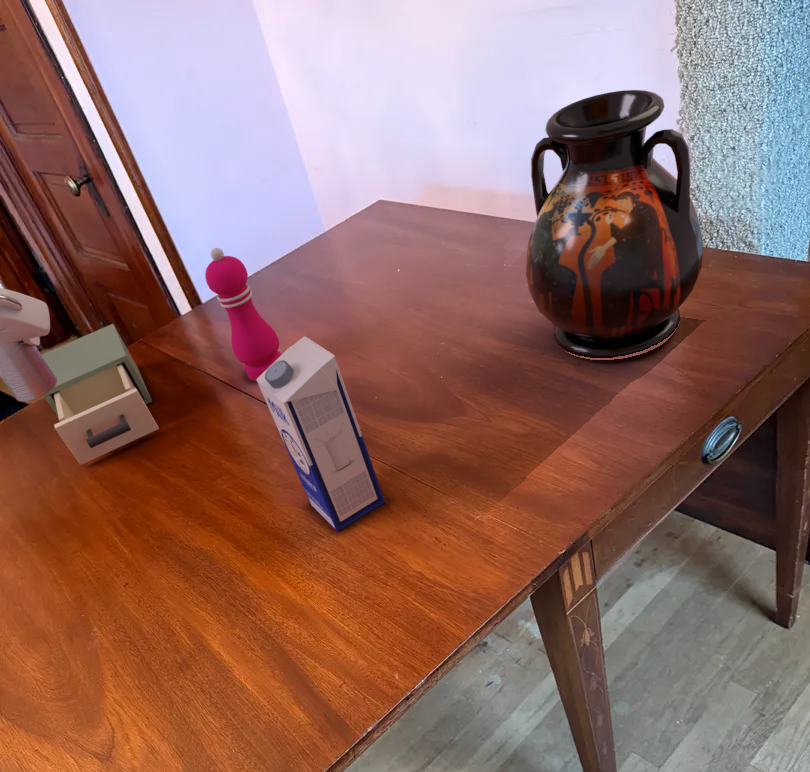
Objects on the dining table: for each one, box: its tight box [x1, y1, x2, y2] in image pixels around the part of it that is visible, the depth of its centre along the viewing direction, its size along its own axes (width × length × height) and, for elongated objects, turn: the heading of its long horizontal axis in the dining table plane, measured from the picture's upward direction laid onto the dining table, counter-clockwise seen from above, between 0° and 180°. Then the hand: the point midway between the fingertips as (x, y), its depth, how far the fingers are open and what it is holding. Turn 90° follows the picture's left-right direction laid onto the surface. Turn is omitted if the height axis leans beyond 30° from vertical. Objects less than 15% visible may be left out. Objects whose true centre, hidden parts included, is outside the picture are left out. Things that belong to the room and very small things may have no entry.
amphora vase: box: [525, 89, 704, 363], centre depth 92 cm, size 22×22×28 cm
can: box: [0, 341, 57, 402], centre depth 92 cm, size 6×6×12 cm
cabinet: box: [41, 323, 153, 419], centre depth 121 cm, size 15×14×9 cm
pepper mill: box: [204, 247, 282, 382], centre depth 112 cm, size 7×7×20 cm
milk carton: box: [256, 335, 386, 532], centre depth 82 cm, size 7×7×20 cm
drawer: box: [53, 363, 159, 466], centre depth 111 cm, size 18×12×7 cm
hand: (10, 345), depth 93 cm, fingers closed on can, 5 cm apart
